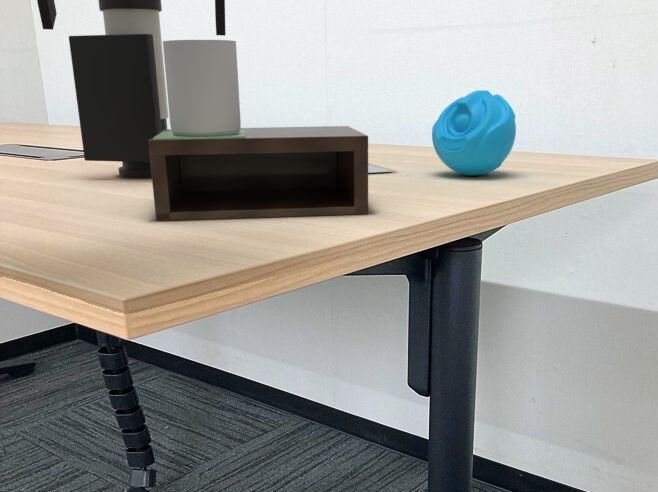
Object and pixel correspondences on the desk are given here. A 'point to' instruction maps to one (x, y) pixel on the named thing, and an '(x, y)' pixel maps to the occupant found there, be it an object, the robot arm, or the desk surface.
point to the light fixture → (121, 85)
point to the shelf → (260, 173)
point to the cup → (202, 87)
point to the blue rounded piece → (475, 133)
